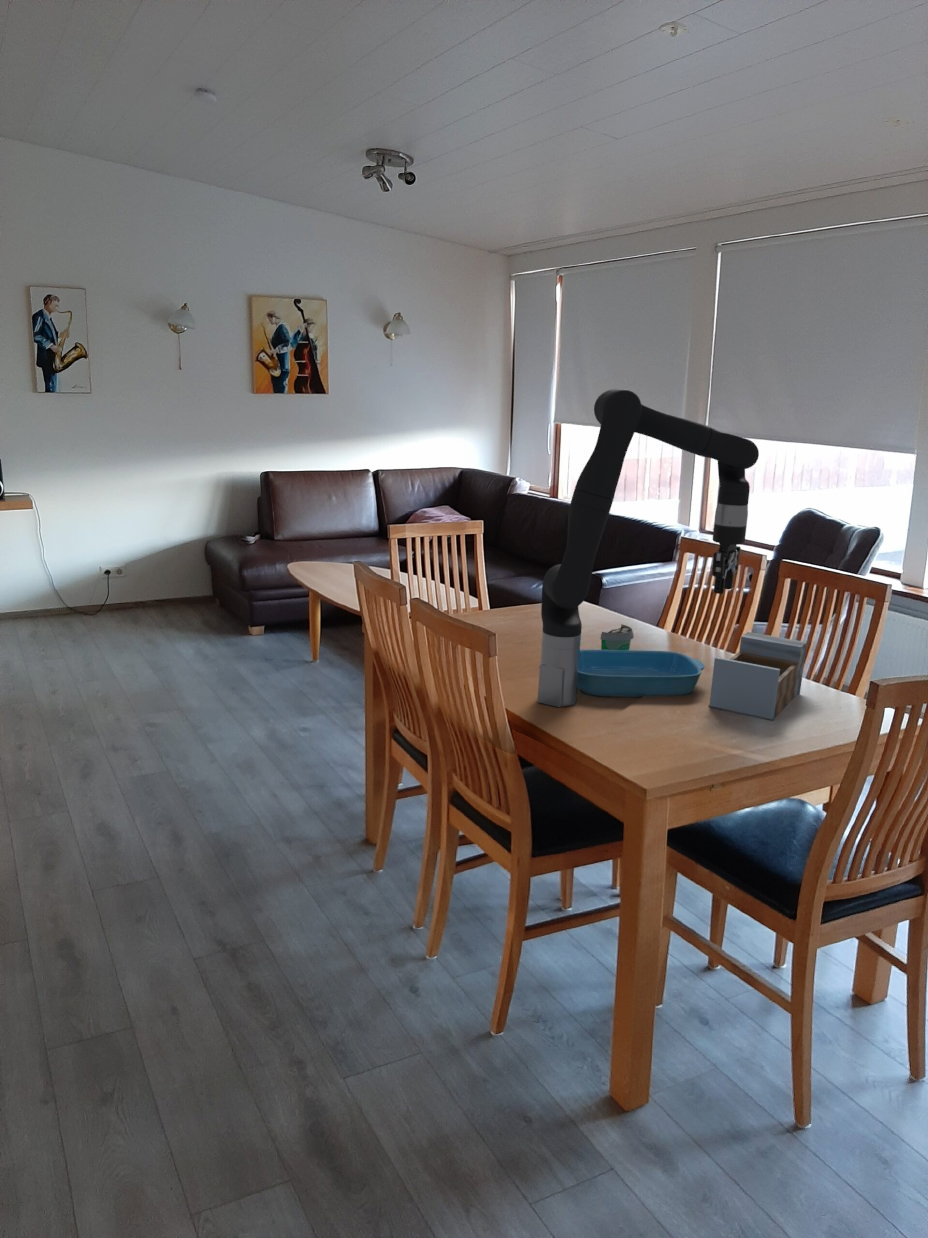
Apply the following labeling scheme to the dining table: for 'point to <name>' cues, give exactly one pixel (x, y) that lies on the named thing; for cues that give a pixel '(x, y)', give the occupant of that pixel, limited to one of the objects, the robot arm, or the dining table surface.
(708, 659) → the dining table surface
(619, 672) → the casserole dish
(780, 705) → the box
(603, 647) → the food container
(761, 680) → the panel
